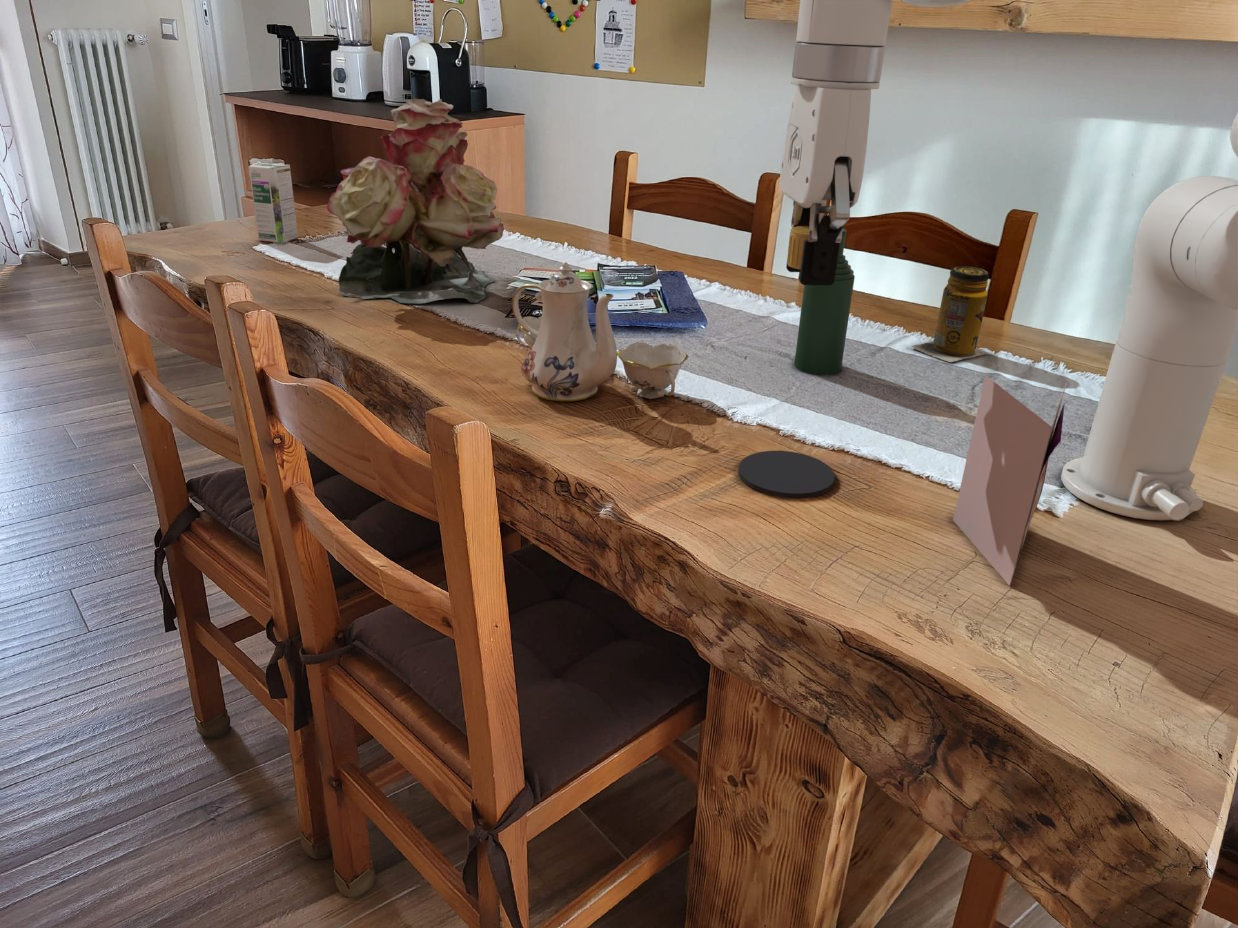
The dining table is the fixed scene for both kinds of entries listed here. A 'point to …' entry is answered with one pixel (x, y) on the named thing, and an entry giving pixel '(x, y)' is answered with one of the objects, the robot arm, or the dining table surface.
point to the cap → (797, 245)
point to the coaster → (786, 474)
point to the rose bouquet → (417, 213)
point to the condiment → (959, 316)
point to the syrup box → (273, 202)
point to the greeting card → (1004, 475)
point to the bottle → (825, 321)
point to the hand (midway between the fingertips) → (809, 275)
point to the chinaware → (585, 346)
